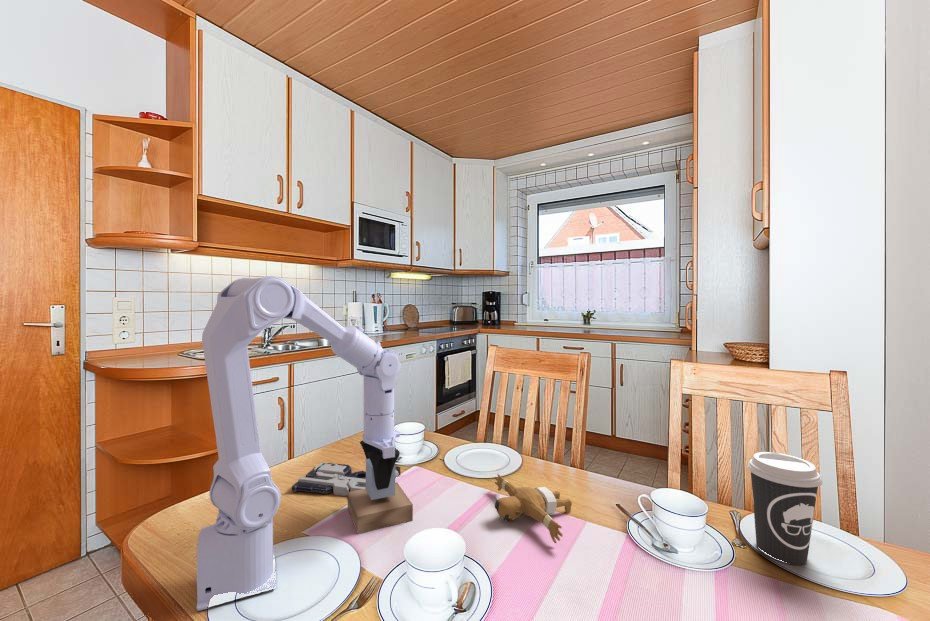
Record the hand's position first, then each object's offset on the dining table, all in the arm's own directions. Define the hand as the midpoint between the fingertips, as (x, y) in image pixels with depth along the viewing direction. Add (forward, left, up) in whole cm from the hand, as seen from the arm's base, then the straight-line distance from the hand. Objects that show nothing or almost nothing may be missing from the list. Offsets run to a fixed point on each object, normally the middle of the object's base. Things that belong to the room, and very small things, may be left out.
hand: (379, 482), depth 77 cm
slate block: (0, 0, -2) cm, 2 cm away
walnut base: (0, 0, -6) cm, 6 cm away
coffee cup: (+56, -40, -6) cm, 69 cm away
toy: (+26, -13, -7) cm, 30 cm away
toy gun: (-2, +16, -7) cm, 18 cm away
